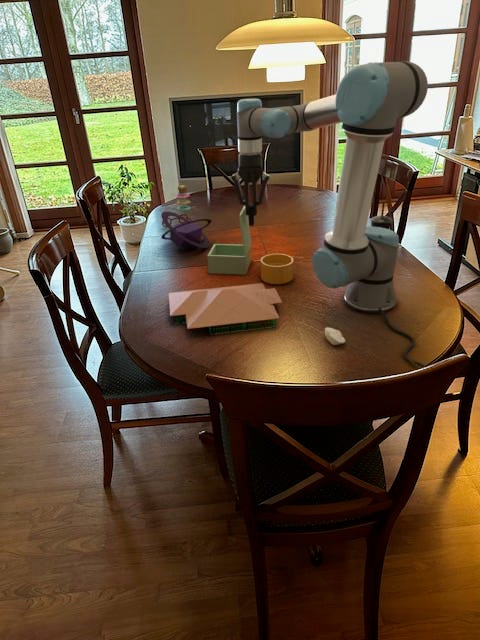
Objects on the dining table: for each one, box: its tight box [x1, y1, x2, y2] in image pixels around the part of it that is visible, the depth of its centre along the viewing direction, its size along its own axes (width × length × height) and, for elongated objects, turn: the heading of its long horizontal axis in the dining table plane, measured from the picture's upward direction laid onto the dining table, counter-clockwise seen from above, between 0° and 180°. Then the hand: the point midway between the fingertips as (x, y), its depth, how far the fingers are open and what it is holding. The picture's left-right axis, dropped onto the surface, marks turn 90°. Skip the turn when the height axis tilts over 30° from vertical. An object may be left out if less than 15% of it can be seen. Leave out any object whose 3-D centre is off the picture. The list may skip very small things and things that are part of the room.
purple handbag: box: [160, 184, 212, 252], centre depth 175 cm, size 22×21×25 cm
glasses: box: [161, 213, 199, 228], centre depth 201 cm, size 13×13×5 cm
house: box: [168, 282, 283, 335], centre depth 132 cm, size 23×33×8 cm
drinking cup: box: [370, 201, 393, 230], centre depth 164 cm, size 8×8×20 cm
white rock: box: [324, 326, 346, 346], centre depth 118 cm, size 7×5×4 cm
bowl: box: [260, 253, 295, 285], centre depth 152 cm, size 11×11×7 cm
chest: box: [206, 243, 252, 276], centre depth 162 cm, size 14×12×7 cm
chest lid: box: [238, 205, 252, 256], centre depth 155 cm, size 14×12×1 cm
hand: (251, 224), depth 154 cm, fingers closed
